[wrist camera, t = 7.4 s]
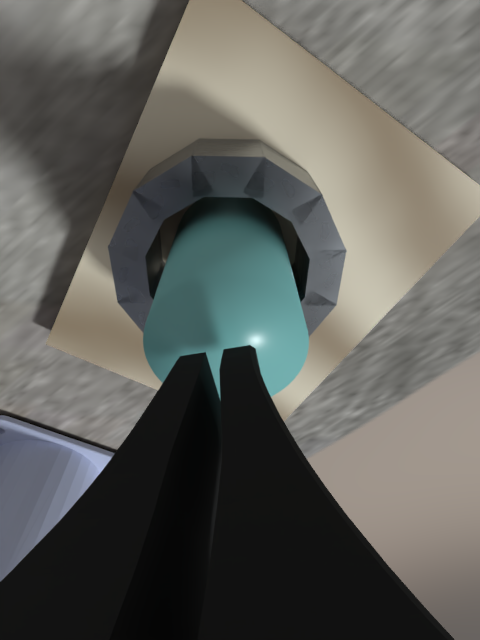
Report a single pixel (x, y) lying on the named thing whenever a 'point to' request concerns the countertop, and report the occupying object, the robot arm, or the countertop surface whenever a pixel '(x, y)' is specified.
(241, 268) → the teal plug
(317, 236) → the grey faceted ring
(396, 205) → the pale board
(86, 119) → the countertop surface
